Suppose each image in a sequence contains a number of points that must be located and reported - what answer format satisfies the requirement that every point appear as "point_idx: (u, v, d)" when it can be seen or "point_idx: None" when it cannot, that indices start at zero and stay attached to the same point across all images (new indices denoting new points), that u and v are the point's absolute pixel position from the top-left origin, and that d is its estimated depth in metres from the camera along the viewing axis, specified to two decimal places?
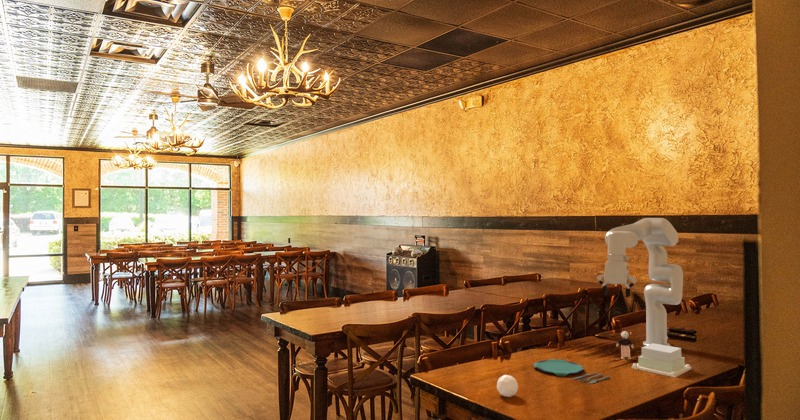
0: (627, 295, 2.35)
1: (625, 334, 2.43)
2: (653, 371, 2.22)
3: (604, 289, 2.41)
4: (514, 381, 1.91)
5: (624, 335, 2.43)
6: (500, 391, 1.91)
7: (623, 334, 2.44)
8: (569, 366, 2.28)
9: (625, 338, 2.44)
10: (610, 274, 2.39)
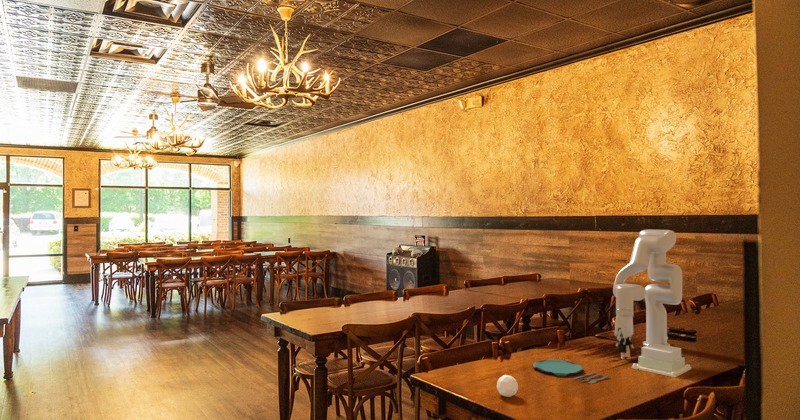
0: None
1: None
2: (653, 371, 2.22)
3: None
4: (514, 381, 1.91)
5: None
6: (500, 391, 1.91)
7: None
8: (568, 366, 2.28)
9: None
10: (627, 329, 2.42)
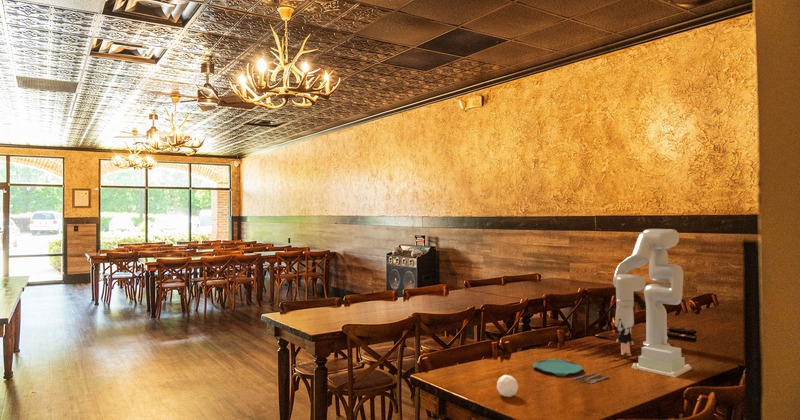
0: None
1: None
2: (653, 371, 2.22)
3: (626, 337, 2.43)
4: (514, 381, 1.91)
5: None
6: (500, 391, 1.91)
7: None
8: (568, 366, 2.28)
9: None
10: (628, 319, 2.42)
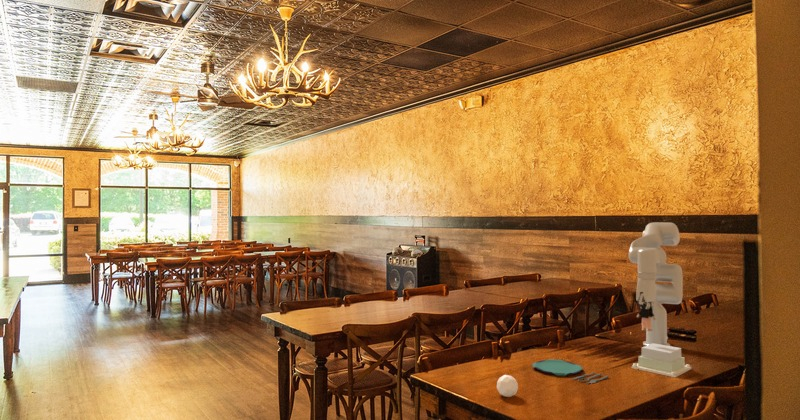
0: None
1: None
2: (653, 371, 2.22)
3: (648, 312, 2.32)
4: (514, 381, 1.91)
5: None
6: (500, 391, 1.91)
7: None
8: (567, 366, 2.28)
9: None
10: (650, 293, 2.32)
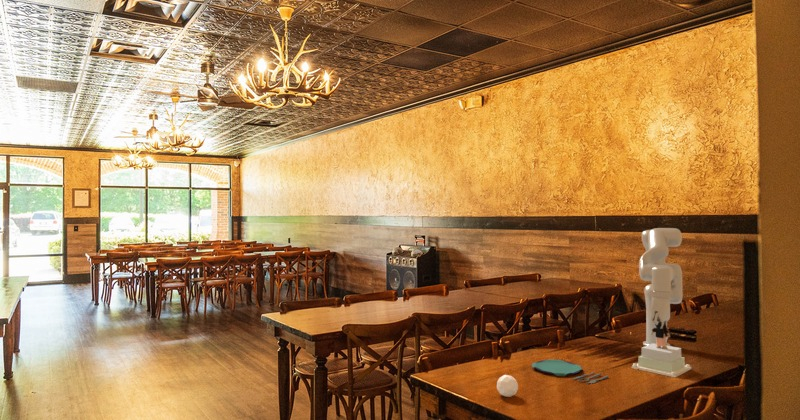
0: None
1: None
2: (653, 371, 2.22)
3: (663, 331, 2.26)
4: (514, 381, 1.91)
5: None
6: (500, 391, 1.91)
7: None
8: (567, 366, 2.28)
9: None
10: (665, 312, 2.26)
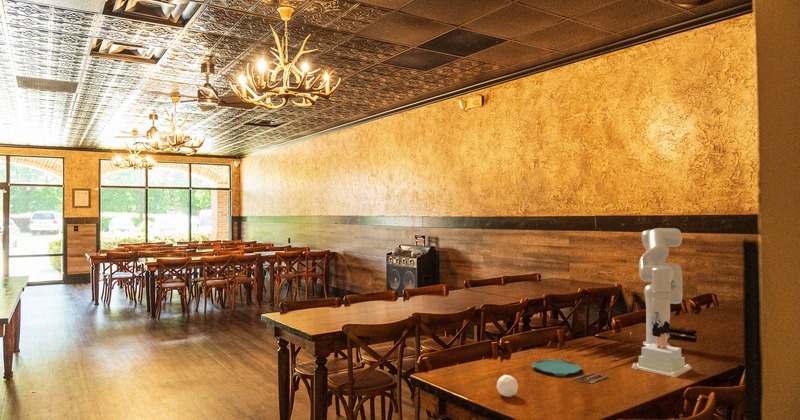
0: None
1: None
2: (653, 371, 2.22)
3: (660, 330, 2.24)
4: (514, 381, 1.91)
5: None
6: (500, 391, 1.91)
7: None
8: (567, 366, 2.28)
9: (660, 326, 2.28)
10: (665, 313, 2.26)
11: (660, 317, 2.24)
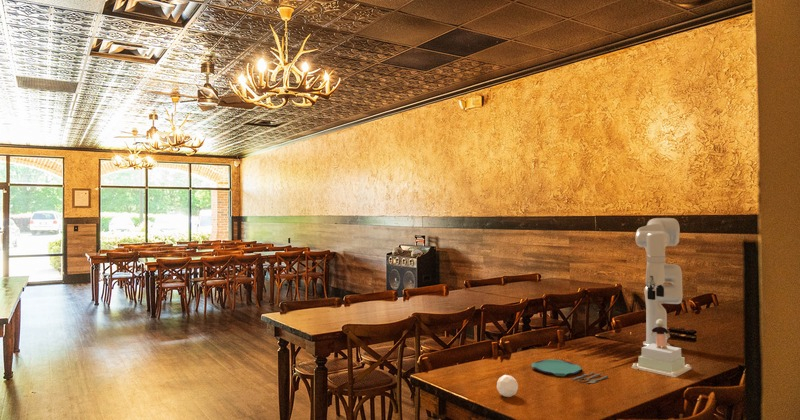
0: None
1: (659, 322, 2.28)
2: (653, 371, 2.22)
3: (655, 293, 2.31)
4: (514, 381, 1.91)
5: (658, 323, 2.28)
6: (500, 391, 1.91)
7: (657, 321, 2.28)
8: (566, 366, 2.28)
9: (660, 326, 2.28)
10: (659, 276, 2.32)
11: (655, 281, 2.30)
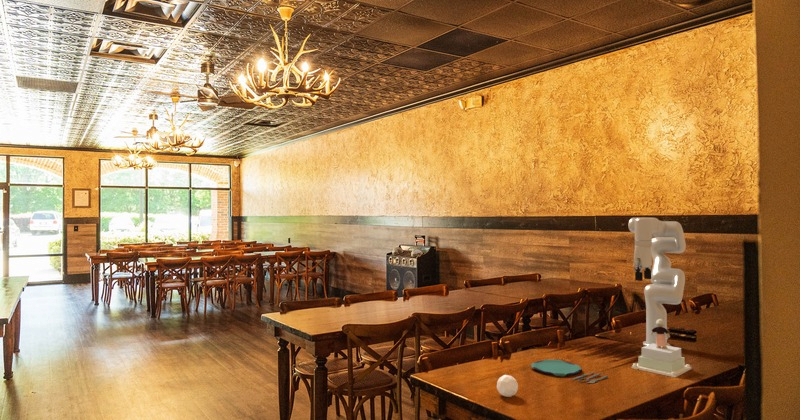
0: (650, 277, 2.52)
1: (659, 322, 2.28)
2: (653, 371, 2.22)
3: (642, 275, 2.45)
4: (514, 381, 1.91)
5: (658, 323, 2.28)
6: (500, 391, 1.91)
7: (657, 321, 2.28)
8: (566, 366, 2.28)
9: (660, 326, 2.28)
10: (646, 259, 2.46)
11: (642, 263, 2.45)
